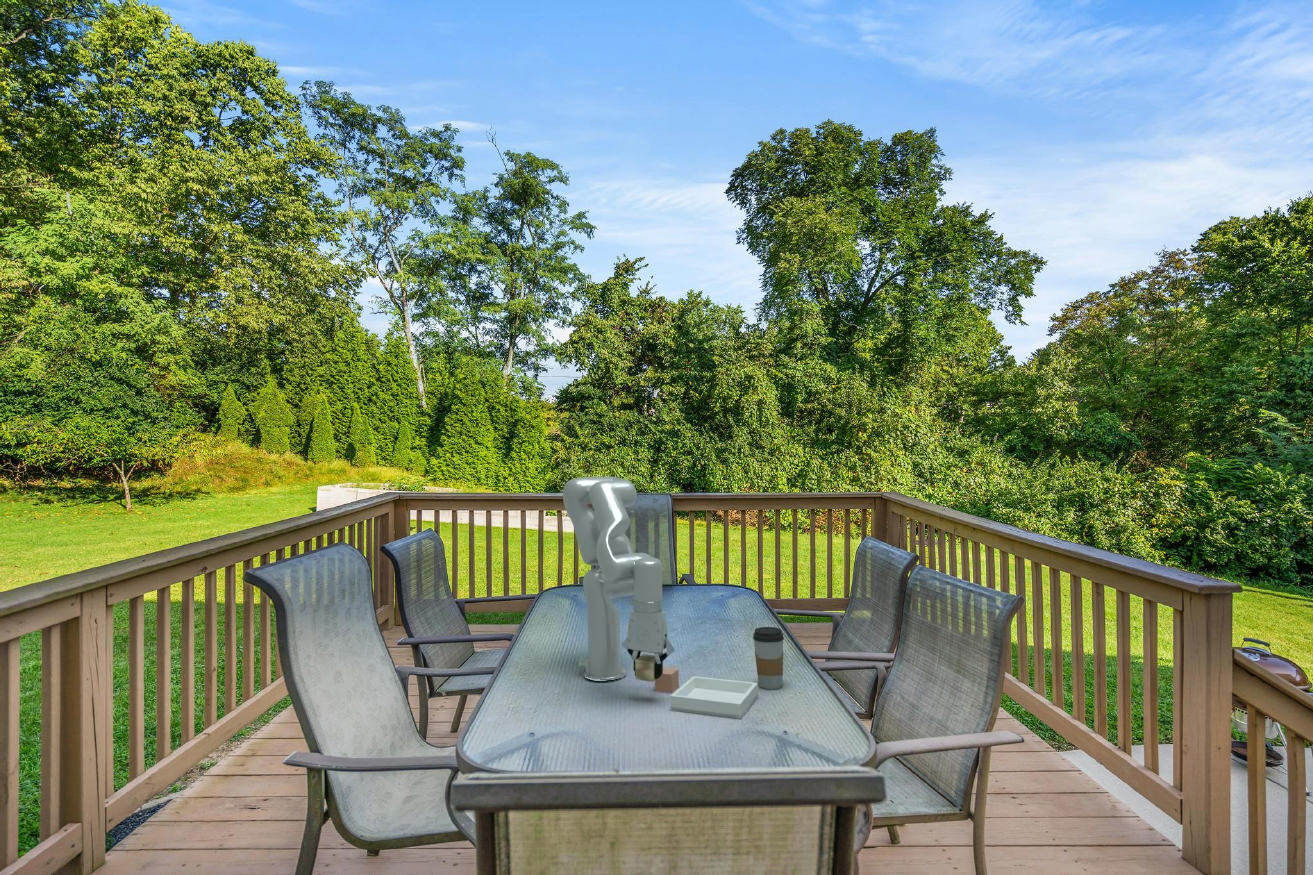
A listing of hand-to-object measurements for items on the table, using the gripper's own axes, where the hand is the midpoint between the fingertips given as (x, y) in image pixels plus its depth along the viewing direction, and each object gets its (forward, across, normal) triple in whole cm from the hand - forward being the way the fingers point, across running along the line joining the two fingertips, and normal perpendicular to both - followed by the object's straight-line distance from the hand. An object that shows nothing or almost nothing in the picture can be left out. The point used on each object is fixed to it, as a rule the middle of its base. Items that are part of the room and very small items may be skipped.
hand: (648, 674), depth 163 cm
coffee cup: (+6, +28, +20) cm, 35 cm away
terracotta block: (+7, +2, +9) cm, 11 cm away
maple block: (+1, 0, 0) cm, 1 cm away
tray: (+6, +18, +3) cm, 19 cm away
